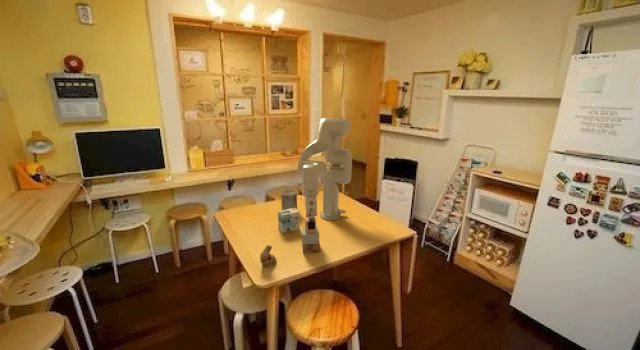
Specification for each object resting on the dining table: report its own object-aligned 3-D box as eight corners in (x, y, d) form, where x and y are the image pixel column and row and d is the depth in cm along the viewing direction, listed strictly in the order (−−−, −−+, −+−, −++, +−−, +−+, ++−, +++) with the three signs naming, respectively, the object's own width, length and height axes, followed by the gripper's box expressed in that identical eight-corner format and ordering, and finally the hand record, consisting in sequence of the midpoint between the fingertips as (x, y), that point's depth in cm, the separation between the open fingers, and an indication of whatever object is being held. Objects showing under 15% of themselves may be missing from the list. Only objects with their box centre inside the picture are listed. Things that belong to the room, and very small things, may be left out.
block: (315, 227, 141) (315, 216, 139) (316, 232, 136) (316, 220, 135) (304, 228, 141) (304, 216, 139) (305, 232, 136) (305, 221, 134)
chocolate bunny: (258, 262, 129) (257, 243, 126) (275, 258, 132) (274, 239, 129) (261, 269, 124) (260, 249, 121) (279, 265, 127) (278, 245, 125)
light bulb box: (282, 233, 156) (281, 215, 153) (278, 228, 161) (277, 210, 158) (300, 229, 160) (299, 211, 157) (295, 224, 166) (295, 207, 163)
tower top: (317, 235, 144) (317, 226, 142) (319, 243, 136) (319, 234, 135) (301, 236, 143) (301, 227, 142) (302, 244, 135) (302, 234, 134)
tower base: (317, 244, 145) (317, 235, 144) (319, 252, 138) (319, 243, 136) (302, 245, 144) (301, 236, 143) (303, 253, 137) (302, 244, 135)
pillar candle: (290, 208, 189) (289, 186, 184) (300, 212, 182) (299, 190, 178) (278, 212, 182) (277, 190, 178) (288, 217, 176) (287, 194, 171)
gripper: (320, 197, 125) (320, 232, 130) (316, 184, 141) (316, 216, 146) (303, 198, 124) (304, 233, 129) (300, 185, 140) (301, 217, 145)
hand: (310, 224), depth 138 cm, fingers open, 9 cm apart
